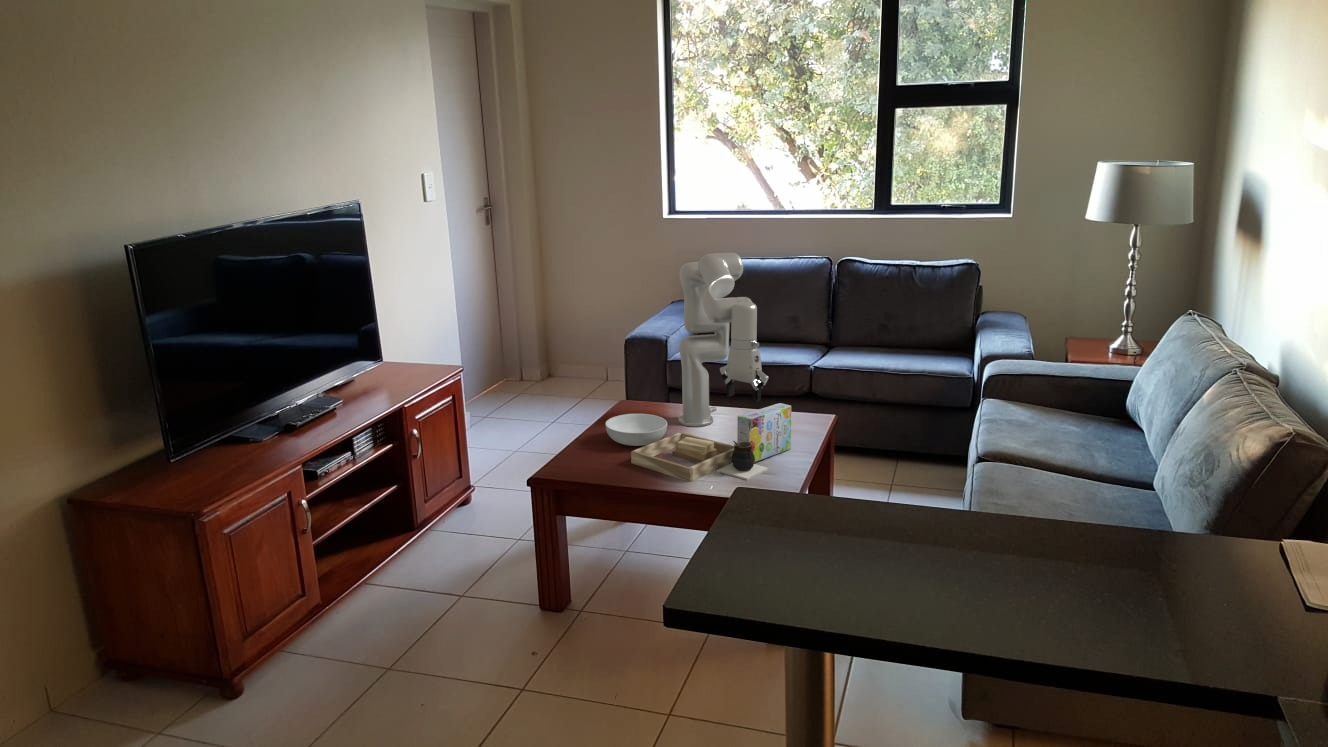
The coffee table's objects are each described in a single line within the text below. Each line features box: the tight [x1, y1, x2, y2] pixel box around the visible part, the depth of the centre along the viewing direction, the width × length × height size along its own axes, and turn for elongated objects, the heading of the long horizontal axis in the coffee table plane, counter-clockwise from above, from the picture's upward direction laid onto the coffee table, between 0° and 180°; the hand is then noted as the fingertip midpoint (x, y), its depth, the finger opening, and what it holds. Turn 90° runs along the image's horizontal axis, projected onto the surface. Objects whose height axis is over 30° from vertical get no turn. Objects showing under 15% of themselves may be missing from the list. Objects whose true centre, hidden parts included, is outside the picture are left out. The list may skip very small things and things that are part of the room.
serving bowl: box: [604, 413, 668, 447], centre depth 305 cm, size 21×21×7 cm
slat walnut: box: [671, 449, 717, 464], centre depth 291 cm, size 7×14×2 cm, turn 48°
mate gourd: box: [731, 440, 756, 471], centre depth 277 cm, size 7×8×10 cm
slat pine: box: [678, 437, 714, 453], centre depth 290 cm, size 6×10×2 cm, turn 59°
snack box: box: [736, 402, 792, 463], centre depth 288 cm, size 21×6×15 cm, turn 135°
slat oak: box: [675, 445, 717, 460], centre depth 290 cm, size 6×12×2 cm, turn 46°
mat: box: [717, 463, 769, 481], centre depth 278 cm, size 11×11×1 cm
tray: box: [630, 431, 734, 483], centre depth 286 cm, size 24×24×4 cm
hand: (743, 398), depth 272 cm, fingers open, 9 cm apart
